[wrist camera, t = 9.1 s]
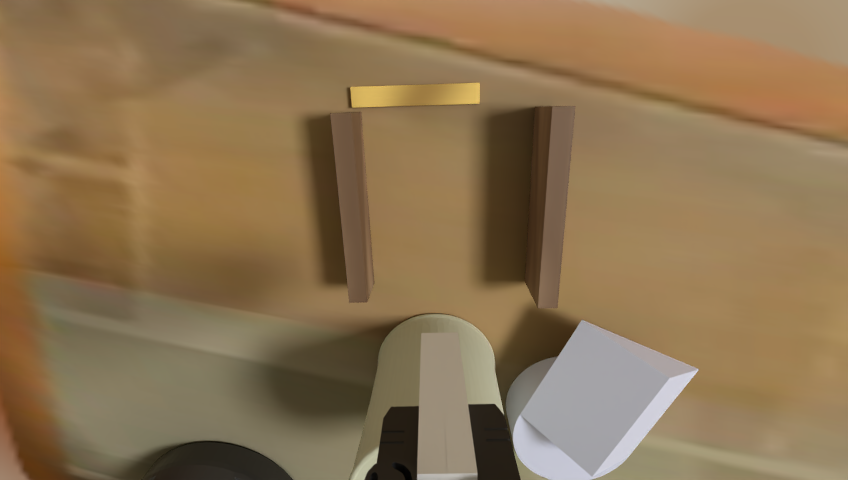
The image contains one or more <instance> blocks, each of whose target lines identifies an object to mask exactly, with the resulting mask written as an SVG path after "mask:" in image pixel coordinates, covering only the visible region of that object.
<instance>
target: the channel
mask: <svg viewBox="0 0 848 480" xmlns="http://www.w3.org/2000/svg"><path fill="white" fill-rule="evenodd" d="M350 89H351V101H352V108H354V107H386V106H418V105H450V104H479V101H480V83H459V84H429V85H399V86H370V87H350ZM330 116H331V126H332V136H333V146H334V155H335V165H336V175H337V185H338V195H339V205H340V215H341V225H342V235H343V245H344V255H345V265H346V275H347V285H348V295H349V303H350V302H367V301H368V299H369V296H370V293H371V291H372V288H373V285H374V273H373V260H372V247H371V234H370V221H369V208H368V195H367V182H366V169H365V156H364V143H363V130H362V117H361V112H353V113H330ZM574 116H575V106H549V107H535V115H534V132H533V150H532V167H531V184H530V201H529V219H528V236H527V253H526V270H525V283H526V285H527V287H528V289H529V291H530V293H531V295H532V297H533V299H534V301H535V303H536V305H537V307H538V308H557V306H558V295H559V284H560V273H561V262H562V250H563V239H564V228H565V217H566V206H567V194H568V183H569V172H570V161H571V149H572V138H573V127H574Z"/></svg>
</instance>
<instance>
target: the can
mask: <svg viewBox="0 0 848 480" xmlns="http://www.w3.org/2000/svg"><path fill="white" fill-rule="evenodd" d="M449 332H458V336H459V343H460V350H461V358H462V365H463V372H464V379H465V386H466V394H467V401H468V404H496V406H497V407H498V408H499V409H500V410H501V412H502V413H503V414H504V412H503V407H502V402H501V397H500V393H499V388H498V383H497V378H496V373H495V358H494V353H493V350H492V347H491V345H490V343H489V341H488V340H487V338H486V337H485V336H484V335H483V333H482V332H481V331H480V330H479V329H477V328H476V327H475V326H473V325H472V324H471V323H469V322H467V321H465V320H463V319H461V318H458V317H455V316H452V315H446V314H424V315H419V316H416V317H413V318H410V319H408V320H406V321H404V322H402V323H401V324H399V325H398V326H397V327H395V328H394V329H393V330H392V331H391V332H390V333H389V334H388V335H387V337H386V338H385V340H384V341H383V343H382V345H381V348H380V351H379V355H378V368H377V373H376V378H375V382H374V386H373V391H372V395H371V400H370V404H369V408H368V412H367V416H366V420H365V424H364V428H363V432H362V436H361V440H360V444H359V448H358V452H357V456H356V460H355V463H354V467H353V470H352V472H351V475H350V478H349V480H364V479H365V477H366V474H367V472H368V471H369V470H370V469H371V468H372V466H373V465H374V464H376V463H377V457H378V450H379V444H380V437H381V430H382V423H383V418H384V416H385V415H386V413H387V412H388V410H389V409H390V407H397V406H419V391H420V358H421V333H449Z"/></svg>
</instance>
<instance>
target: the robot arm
mask: <svg viewBox="0 0 848 480" xmlns="http://www.w3.org/2000/svg"><path fill="white" fill-rule="evenodd" d="M142 480H292V479H291V477H290V476H289V475H288V474H287V473H286V472H285V471H284V470H283V469H281V468H280V467H279V466H278V465H276V464H275V463H274V462H272V461H271V460H269V459H267V458H266V457H264V456H262V455H260V454H258V453H256V452H253V451H251V450H248V449H245V448H242V447H239V446H235V445H230V444H224V443H213V442H203V443H194V444H188V445H184V446H181V447H178V448H176V449H173V450H171V451H169V452H168V453H166V454H164V455H163V456H162V457H161V458H159V459H158V460H157V461H156V462H155V463H154V465H153V466H152V467H151V468H150V470H149V471H148V472H147V473H146V475H145V476H144V477H143V479H142ZM364 480H520V476H519V472H518V468H517V464H516V460H515V456H514V452H513V448H512V444H511V441H510V436H509V432H508V429H507V424H506V420H505V416H504V414H503V413H502V412H501V410H500V409H499V408H498V407H497V406H496V404H468V401H467V394H466V386H465V379H464V372H463V365H462V358H461V350H460V343H459V336H458V332H449V333H421V358H420V391H419V406H397V407H390V409H389V410H388V412H387V413H386V415H385V416H384V418H383V423H382V430H381V437H380V444H379V450H378V457H377V463H376V464H374V465H373V466H372V468H371V469H370V470H369V471H368V472H367V474H366V477H365V479H364Z"/></svg>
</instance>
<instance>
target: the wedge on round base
mask: <svg viewBox="0 0 848 480" xmlns="http://www.w3.org/2000/svg"><path fill="white" fill-rule="evenodd" d="M698 370H699V369H697V368H695V367H693V366H690V365H688V364H685V363H683V362H681V361H678V360H676V359H674V358H671V357H669V356H666V355H664V354H662V353H659V352H657V351H655V350H652V349H650V348H648V347H645V346H643V345H640V344H638V343H636V342H633V341H631V340H629V339H626V338H624V337H621V336H619V335H617V334H614V333H612V332H610V331H607V330H605V329H603V328H600V327H598V326H595V325H593V324H591V323H588V322H586V321H584V320H582V321H581V322H580V324H579V325H578V327H577V328H576V330H575V331H574V333H573V334H572V336H571V338H570V339H569V341H568V342H567V344H566V345H565V347H564V348H563V350H562V351H561V353H560V354H559V356H558V357H553V358H548V359H545V360H542V361H539V362H537V363H535V364H533V365H531V366H530V367H528V368H527V369H525V370H524V371H523V372H522V373H521V374H520V375H519V376H518V377H517V378H516V379H515V380H514V382H513V383H512V385H511V387H510V388H509V391H508V394H507V398H506V412H507V417H508V421H509V426H510V430H511V435H512V439H513V444H514V448H515V451H516V453H517V455H518V457H519V459H520V460H521V461H522V462H523V464H524V465H525V466H526V467H528V468H529V469H530V470H531V471H533V472H534V473H536V474H538V475H540V476H542V477H545V478H547V479H551V480H591V479H594V478H598V477H600V476H603V475H605V474H607V473H609V472H611V471H612V470H614V469H615V468H617V467H618V466H619V465H621V464H622V463H623V462H624V461H625V460H626V459H627V458H628V457H629V455H630V454H631V453H632V452H633V450H634V449H635V448H636V447H637V446H638V444H639V443H640V442H641V441H642V439H643V438H644V437H645V436H646V434H647V433H648V432H649V431H650V429H651V428H652V427H653V426H654V424H655V423H656V422H657V421H658V420H659V418H660V417H661V416H662V415H663V413H664V412H665V411H666V410H667V408H668V407H669V406H670V405H671V403H672V402H673V401H674V400H675V398H676V397H677V396H678V395H679V394H680V392H681V391H682V390H683V389H684V387H685V386H686V385H687V384H688V382H689V381H690V380H691V379H692V377H693V376H694V375H695V374H696V373H697V371H698Z"/></svg>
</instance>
